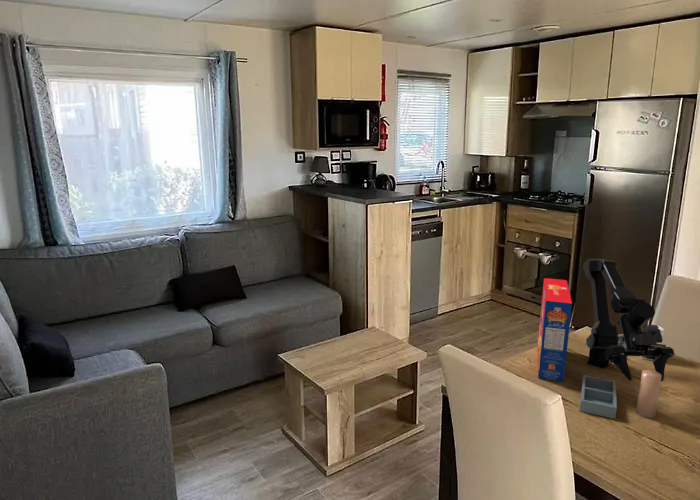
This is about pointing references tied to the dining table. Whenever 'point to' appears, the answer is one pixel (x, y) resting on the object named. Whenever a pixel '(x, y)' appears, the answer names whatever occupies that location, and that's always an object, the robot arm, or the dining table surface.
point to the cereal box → (554, 329)
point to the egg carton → (621, 341)
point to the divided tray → (598, 396)
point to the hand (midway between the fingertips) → (646, 380)
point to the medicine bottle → (649, 330)
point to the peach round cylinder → (648, 393)
